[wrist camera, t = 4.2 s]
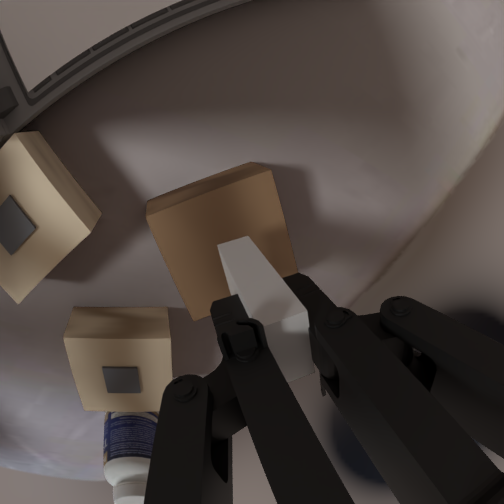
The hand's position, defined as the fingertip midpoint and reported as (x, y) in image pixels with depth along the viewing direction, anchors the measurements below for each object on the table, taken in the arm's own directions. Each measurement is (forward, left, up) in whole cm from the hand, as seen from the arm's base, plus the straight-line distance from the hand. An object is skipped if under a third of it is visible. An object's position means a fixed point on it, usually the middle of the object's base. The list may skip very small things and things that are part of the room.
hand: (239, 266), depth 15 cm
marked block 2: (-9, -7, -7) cm, 13 cm away
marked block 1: (-11, +5, -7) cm, 14 cm away
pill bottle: (-12, -15, -7) cm, 20 cm away
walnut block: (0, 0, -7) cm, 7 cm away
